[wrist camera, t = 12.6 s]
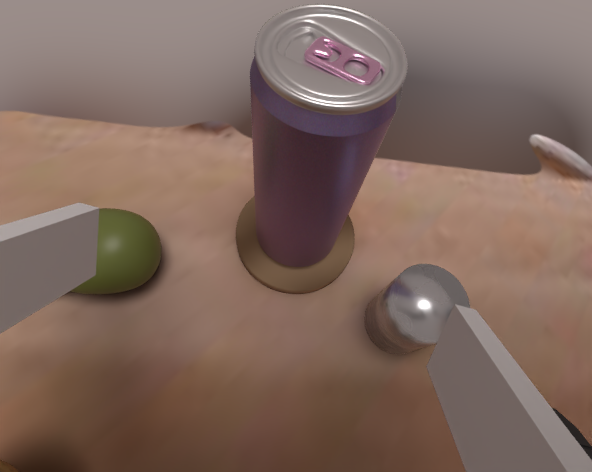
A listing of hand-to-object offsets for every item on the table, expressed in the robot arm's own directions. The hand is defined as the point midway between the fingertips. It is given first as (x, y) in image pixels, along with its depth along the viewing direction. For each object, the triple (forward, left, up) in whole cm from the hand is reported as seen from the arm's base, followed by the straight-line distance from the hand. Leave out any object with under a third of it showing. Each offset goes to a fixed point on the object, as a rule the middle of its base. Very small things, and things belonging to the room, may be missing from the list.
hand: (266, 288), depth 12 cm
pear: (+10, +8, -12) cm, 18 cm away
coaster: (+6, -6, -12) cm, 14 cm away
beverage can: (+6, -6, -11) cm, 14 cm away
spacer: (-3, -9, -12) cm, 15 cm away
